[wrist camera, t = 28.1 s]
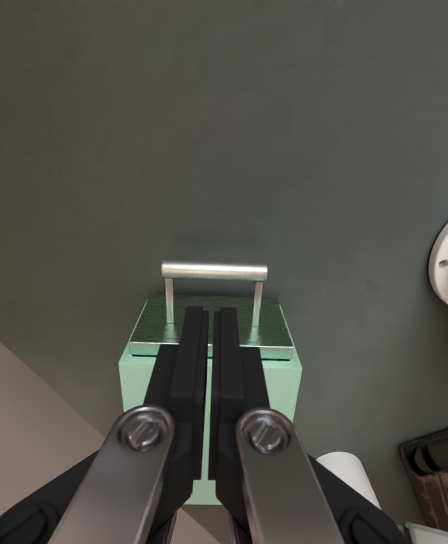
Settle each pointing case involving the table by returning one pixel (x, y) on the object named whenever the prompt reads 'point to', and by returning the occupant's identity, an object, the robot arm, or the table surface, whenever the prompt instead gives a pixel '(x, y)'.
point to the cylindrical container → (349, 473)
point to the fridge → (279, 386)
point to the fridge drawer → (250, 311)
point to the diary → (429, 476)
